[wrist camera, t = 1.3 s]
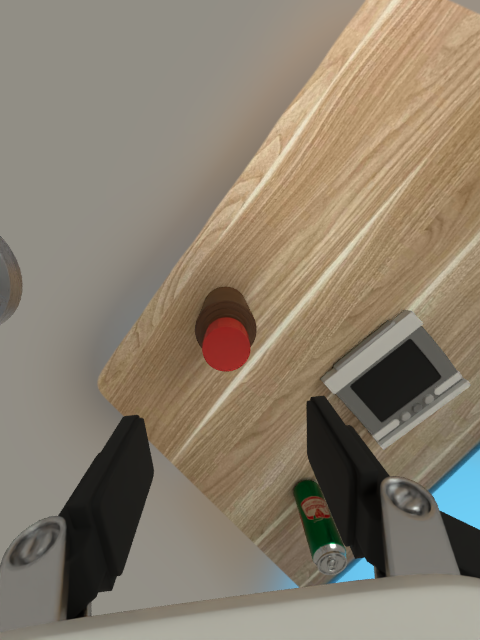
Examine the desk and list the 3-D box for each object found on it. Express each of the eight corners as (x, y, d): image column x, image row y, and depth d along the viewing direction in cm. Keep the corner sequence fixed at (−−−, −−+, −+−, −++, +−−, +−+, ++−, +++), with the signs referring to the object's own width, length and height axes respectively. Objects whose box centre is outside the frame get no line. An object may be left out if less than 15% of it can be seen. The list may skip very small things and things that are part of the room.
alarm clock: (383, 449, 42) (330, 391, 37) (367, 429, 46) (317, 375, 41) (470, 385, 40) (426, 314, 35) (444, 370, 44) (402, 306, 39)
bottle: (206, 330, 38) (193, 385, 22) (201, 288, 37) (183, 314, 20) (247, 326, 38) (265, 378, 22) (245, 284, 37) (261, 307, 20)
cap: (207, 358, 24) (205, 373, 21) (202, 319, 23) (199, 328, 20) (248, 354, 24) (251, 369, 21) (245, 315, 23) (248, 324, 20)
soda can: (319, 476, 46) (350, 549, 35) (318, 497, 48) (348, 575, 36) (292, 478, 46) (315, 553, 35) (292, 500, 48) (314, 579, 36)
